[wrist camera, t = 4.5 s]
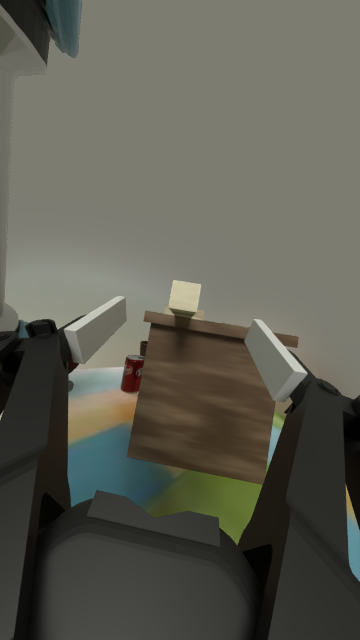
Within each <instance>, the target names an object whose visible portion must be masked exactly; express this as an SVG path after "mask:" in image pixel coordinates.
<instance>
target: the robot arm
mask: <svg viewBox="0 0 360 640" xmlns="http://www.w3.org/2000/svg"><path fill="white" fill-rule="evenodd" d="M81 8H82V0H0V415H1V413H2V412H3V410H4V412H3V415H2V417H1V420H0V640H360V582H359V580H358V579H357V578H356V577H355V576H354V574H353V573H352V571H351V568H350V566H349V559H348V534H347V509H346V486H347V490H348V493H349V496H350V500H351V503H352V506H353V510H354V513H355V516H356V520H357V523H358V526H359V530H360V395H359V396H358V397H357V398H356V399H354V400H353V399H351V398H348V397H345V396H343V395H341V393H340V392H339V391H338V389H336V388H335V387H334V386H333V385H331V384H330V383H328V382H326V381H324V380H322V379H318V378H315V376H314V375H313V374H312V373H311V372H310V371H309V370H308V368H306V366H305V365H303V363H302V362H301V361H300V360H299V359H298V357H297V356H296V355H295V354H294V353H292V352H291V351H289V350H288V349H286V348H285V347H284V345H283V344H282V343H281V342H280V341H279V340H278V339H277V337H276V336H275V335H274V334H273V333H272V332H271V331H270V329H269V328H268V327H267V326H266V325H265V324H264V322H263V321H262V320H257V319H254V320H253V322H252V324H251V327H250V329H249V331H248V334H247V336H246V338H245V340H244V342H245V344H246V346H247V348H248V350H249V352H250V354H251V356H252V358H253V360H254V362H255V364H256V366H257V369H258V371H259V373H260V375H261V377H262V379H263V381H264V383H265V385H266V387H267V389H268V391H269V393H270V395H271V397H272V399H273V400H275V401H280V402H285V401H286V400H287V399H288V397H290V398H291V400H292V402H293V403H292V404H291V405H290V406H289V408H288V409H287V410H286V411H285V412H284V413H287V416H286V419H285V422H284V424H283V427H282V430H281V433H280V436H279V439H278V442H277V445H276V448H275V451H274V454H273V457H272V460H271V462H270V465H269V468H268V471H267V474H266V477H265V480H264V483H263V486H262V489H261V492H260V495H259V498H258V500H257V503H256V506H255V509H254V512H253V515H252V518H251V520H250V522H249V523H248V525H247V526H246V528H245V529H244V531H243V533H242V535H241V538H240V540H239V543H238V546H237V545H236V543H235V542H234V541H233V540H232V539H231V537H230V536H228V535H227V534H226V533H225V532H224V531H223V530H222V529H221V528H219V519H218V518H217V517H213V516H208V515H204V514H200V513H195V512H191V511H185V512H180V513H176V514H171V515H167V516H162V517H157V518H155V517H152V516H151V515H149V514H148V513H147V512H145V511H144V510H143V509H141V508H140V507H139V506H137V505H136V504H135V503H133V502H132V501H131V500H130V499H128V498H127V497H125V496H120V495H116V494H111V493H107V492H103V491H98V490H97V491H96V494H95V496H94V498H93V499H89V500H86V501H84V502H81V503H79V504H77V505H75V506H73V507H71V499H70V489H69V484H68V476H67V462H68V361H67V359H68V358H70V357H71V356H72V358H73V362H76V363H81V364H85V363H86V362H87V361H88V360H89V359H90V358H91V356H92V355H93V354H94V353H95V352H96V351H97V350H98V349H99V348H100V347H101V346H102V345H103V344H104V343H105V342H106V341H107V340H108V339H109V338H110V337H111V336H112V335H113V334H114V333H115V332H116V331H117V330H118V329H119V328H120V327H121V326H122V325H123V324H124V323H125V322H126V301H125V297H122V296H118V297H116V298H114V299H112V300H111V301H109V302H108V303H106V304H104V305H102V306H101V307H99V308H98V309H96V310H94V311H93V312H91V313H89V314H88V315H83V316H81V317H79V318H77V319H75V320H73V321H72V322H70V323H68V324H67V325H65V326H63V327H61V328H60V329H58V330H57V328H56V325H55V322H54V321H53V320H50V319H42V320H36V321H33V322H31V323H28V322H24V321H22V320H18V315H17V313H16V311H15V310H14V309H13V308H12V307H11V306H9V305H8V304H6V303H5V302H4V297H5V274H6V250H7V227H8V203H9V178H10V155H11V132H12V131H11V130H12V108H13V84H14V81H15V79H17V78H18V77H19V76H26V75H27V76H28V75H44V74H46V68H47V58H48V50H49V42H50V39H51V38H52V39H53V40H54V41H55V44H56V46H57V47H58V48H59V49H60V50H61V51H62V52H63V53H67V54H68V55H69V56H71V57H72V58H76V56H77V54H78V48H79V33H80V21H81ZM345 483H346V484H345Z"/></svg>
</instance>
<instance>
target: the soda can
mask: <svg viewBox="0 0 360 640" xmlns="http://www.w3.org/2000/svg"><path fill="white" fill-rule="evenodd" d="M144 360H145V357H143V356H140V355H129V356H128V357H126V361H125V366H124V372H123V377H122V383H121V390H122V391H123V392H124V393H128V394H134V393H137V392H139V388H140V382H141V377H142V371H143V366H144Z"/></svg>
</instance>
